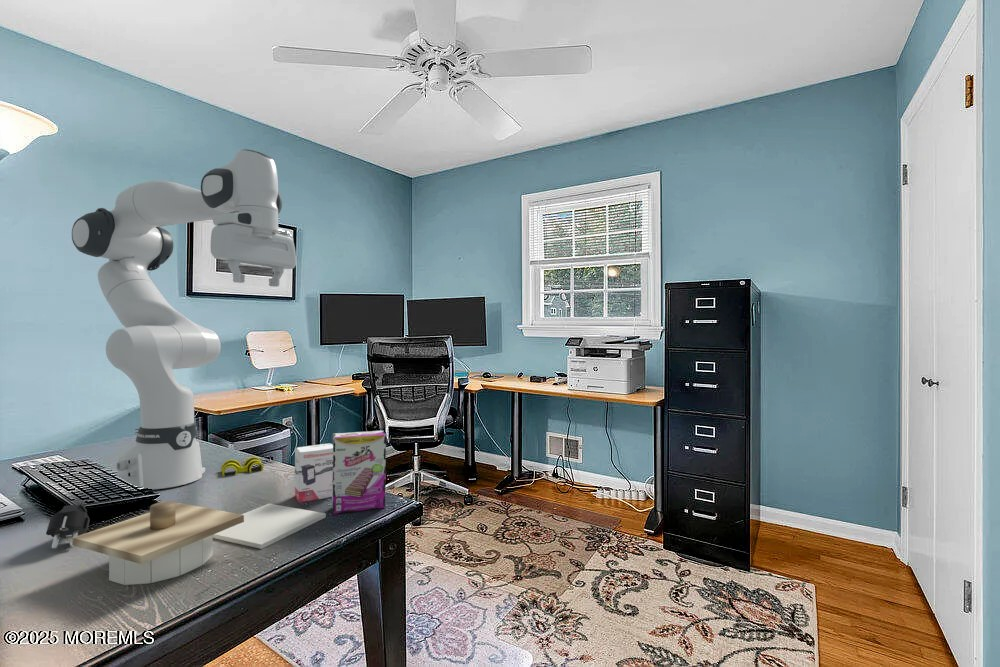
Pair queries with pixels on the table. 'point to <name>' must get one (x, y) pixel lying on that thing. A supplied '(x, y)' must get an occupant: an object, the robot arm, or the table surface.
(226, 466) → the opera glasses
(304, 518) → the mat
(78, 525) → the power plug
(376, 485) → the candy bar box
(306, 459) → the ink box
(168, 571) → the bowl
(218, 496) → the table surface
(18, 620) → the table surface
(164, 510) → the lid
